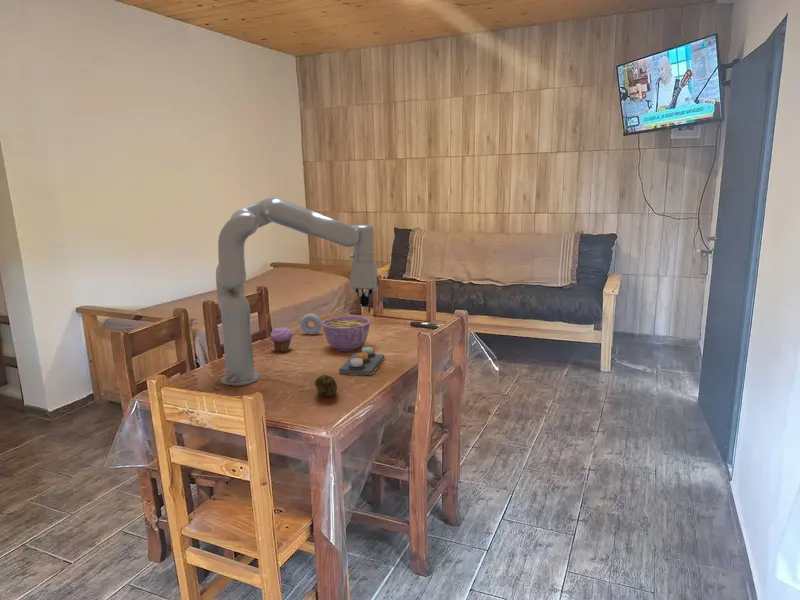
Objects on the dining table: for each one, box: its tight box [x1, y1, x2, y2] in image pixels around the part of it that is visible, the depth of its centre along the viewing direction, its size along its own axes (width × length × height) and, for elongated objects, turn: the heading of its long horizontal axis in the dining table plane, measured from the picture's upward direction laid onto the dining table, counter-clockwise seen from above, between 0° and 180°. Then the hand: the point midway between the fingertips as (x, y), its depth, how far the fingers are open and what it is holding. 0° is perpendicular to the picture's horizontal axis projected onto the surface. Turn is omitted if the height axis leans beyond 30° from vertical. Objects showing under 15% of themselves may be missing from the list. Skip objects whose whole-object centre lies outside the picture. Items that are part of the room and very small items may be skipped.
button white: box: [351, 358, 363, 367], centre depth 204 cm, size 4×4×2 cm
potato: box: [314, 374, 338, 397], centre depth 183 cm, size 8×13×8 cm, turn 171°
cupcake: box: [269, 326, 293, 353], centre depth 233 cm, size 9×9×10 cm
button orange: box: [356, 351, 368, 361], centre depth 211 cm, size 4×4×2 cm
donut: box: [299, 312, 323, 336], centre depth 256 cm, size 10×4×10 cm, turn 85°
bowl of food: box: [321, 315, 371, 352], centre depth 233 cm, size 20×20×12 cm
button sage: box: [361, 346, 374, 355], centre depth 218 cm, size 4×4×2 cm
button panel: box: [338, 352, 385, 376], centre depth 212 cm, size 20×12×3 cm, turn 167°
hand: (364, 305), depth 214 cm, fingers closed
